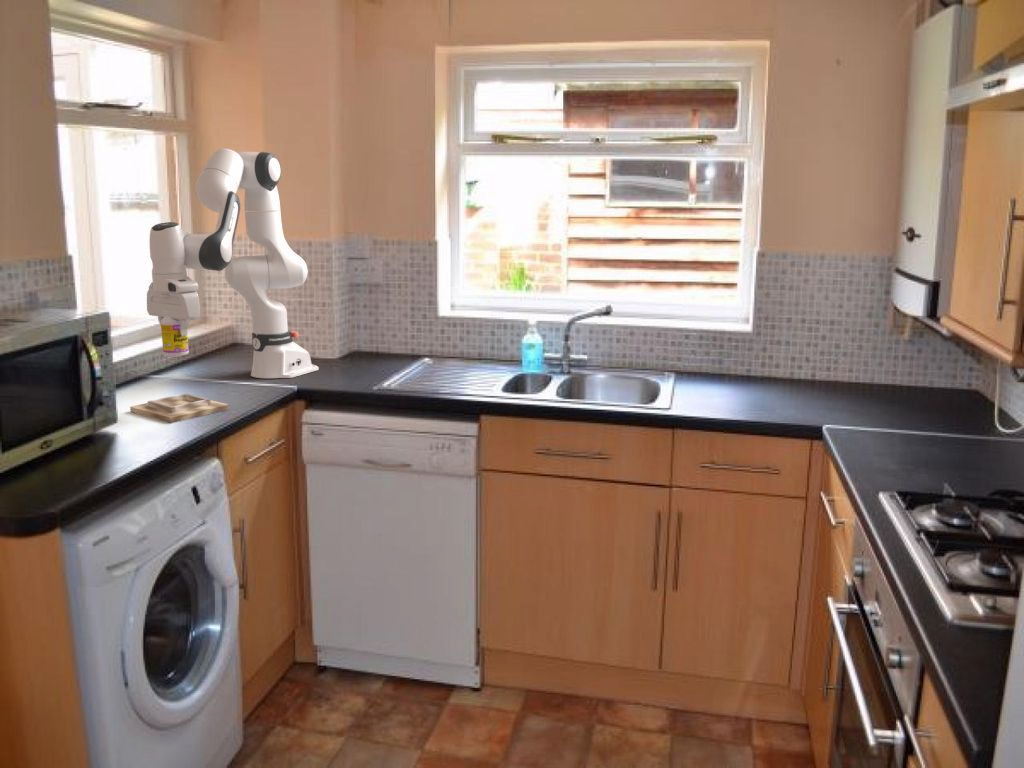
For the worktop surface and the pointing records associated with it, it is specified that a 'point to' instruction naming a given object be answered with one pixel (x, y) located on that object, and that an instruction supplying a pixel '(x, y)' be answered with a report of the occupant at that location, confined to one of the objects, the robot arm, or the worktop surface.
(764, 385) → the worktop surface
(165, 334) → the supplement bottle
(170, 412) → the pocket board
